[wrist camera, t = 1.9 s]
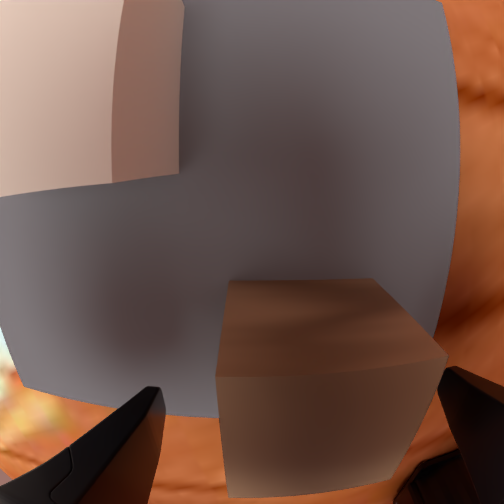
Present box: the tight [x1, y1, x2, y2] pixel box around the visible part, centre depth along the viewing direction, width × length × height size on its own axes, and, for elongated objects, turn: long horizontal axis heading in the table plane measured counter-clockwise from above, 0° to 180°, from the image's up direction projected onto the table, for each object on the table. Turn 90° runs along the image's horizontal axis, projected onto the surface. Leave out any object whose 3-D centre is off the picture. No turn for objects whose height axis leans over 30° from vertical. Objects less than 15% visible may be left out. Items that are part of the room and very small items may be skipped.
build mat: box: [0, 0, 460, 418], centre depth 10 cm, size 20×18×1 cm
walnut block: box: [215, 278, 449, 498], centre depth 8 cm, size 5×5×5 cm
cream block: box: [0, 0, 185, 197], centre depth 6 cm, size 6×6×5 cm
